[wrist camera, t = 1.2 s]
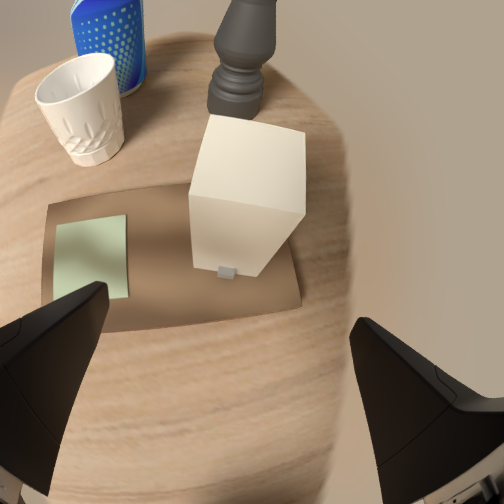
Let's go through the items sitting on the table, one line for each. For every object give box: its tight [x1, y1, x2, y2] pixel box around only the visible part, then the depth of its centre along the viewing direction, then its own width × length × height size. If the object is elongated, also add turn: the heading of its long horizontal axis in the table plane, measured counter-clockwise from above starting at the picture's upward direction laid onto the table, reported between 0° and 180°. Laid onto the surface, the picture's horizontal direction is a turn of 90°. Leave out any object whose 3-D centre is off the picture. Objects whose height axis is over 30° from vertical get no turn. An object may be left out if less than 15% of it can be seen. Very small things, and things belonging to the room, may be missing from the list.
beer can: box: [70, 0, 147, 99], centre depth 21 cm, size 8×8×16 cm
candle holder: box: [207, 0, 277, 120], centre depth 18 cm, size 6×6×25 cm
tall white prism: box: [188, 114, 306, 279], centre depth 17 cm, size 6×5×11 cm
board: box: [41, 183, 302, 333], centre depth 20 cm, size 12×22×6 cm, turn 100°
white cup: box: [35, 53, 124, 167], centre depth 20 cm, size 8×8×10 cm
